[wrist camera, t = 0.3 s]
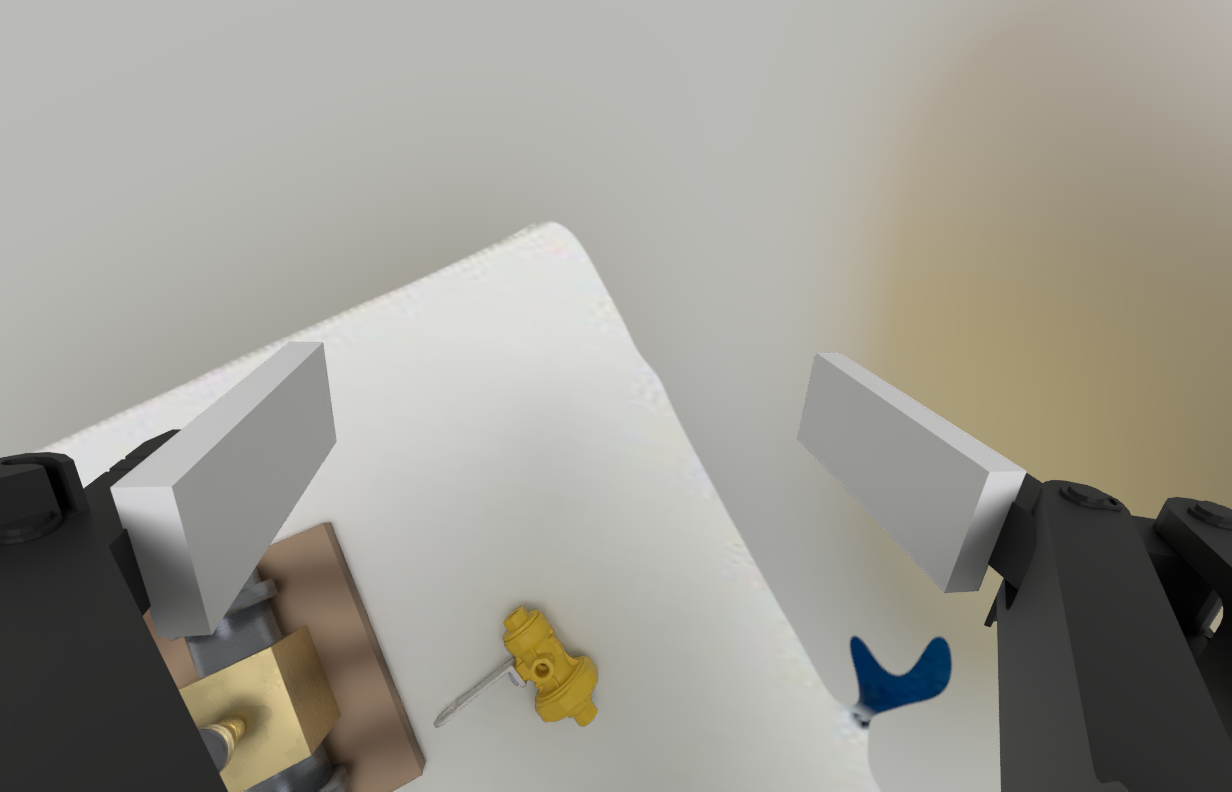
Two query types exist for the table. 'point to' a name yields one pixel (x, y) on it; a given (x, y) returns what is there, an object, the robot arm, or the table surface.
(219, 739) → the valve lever
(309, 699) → the pipe valve
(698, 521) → the table surface
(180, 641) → the valve plinth
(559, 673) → the pressure relief valve
